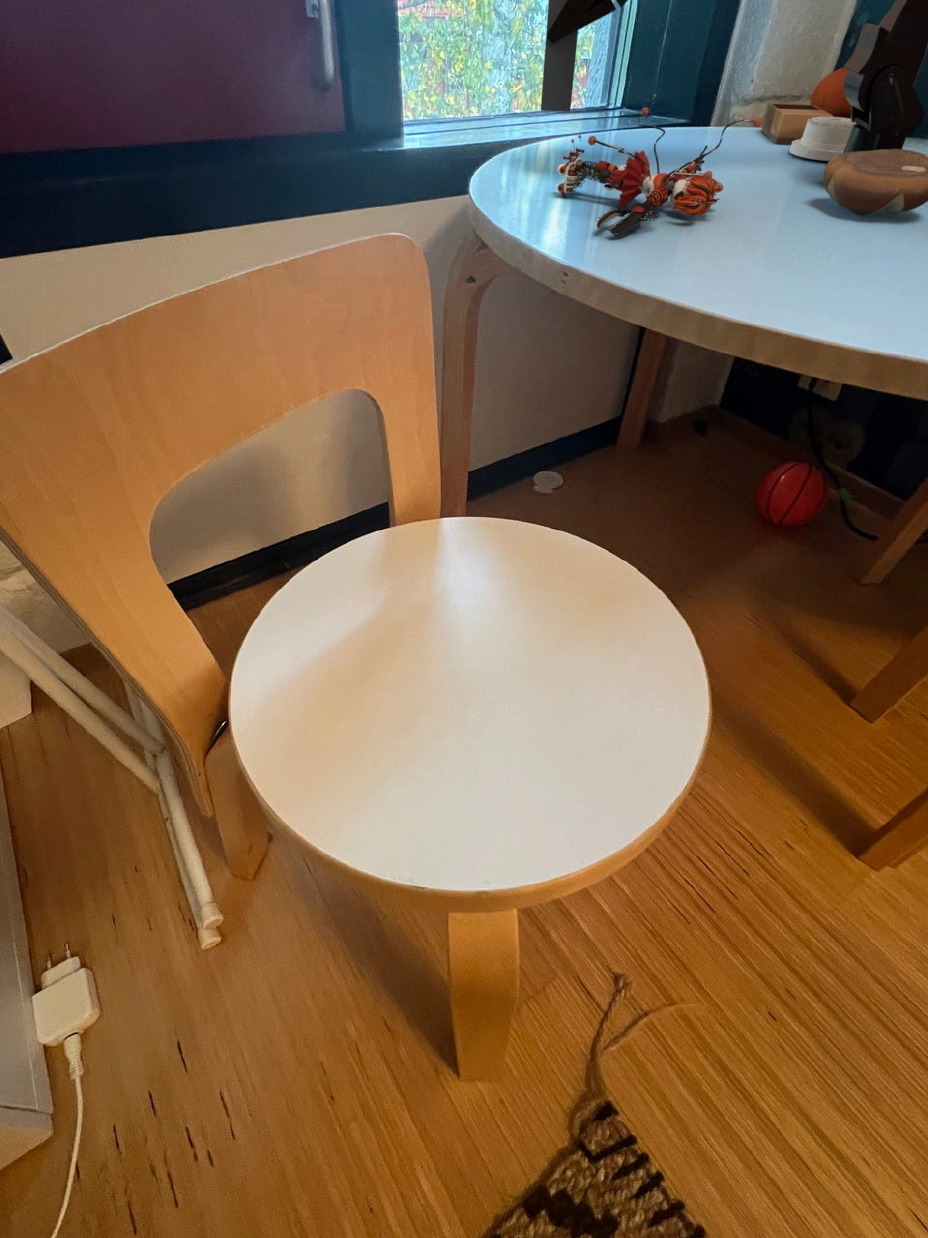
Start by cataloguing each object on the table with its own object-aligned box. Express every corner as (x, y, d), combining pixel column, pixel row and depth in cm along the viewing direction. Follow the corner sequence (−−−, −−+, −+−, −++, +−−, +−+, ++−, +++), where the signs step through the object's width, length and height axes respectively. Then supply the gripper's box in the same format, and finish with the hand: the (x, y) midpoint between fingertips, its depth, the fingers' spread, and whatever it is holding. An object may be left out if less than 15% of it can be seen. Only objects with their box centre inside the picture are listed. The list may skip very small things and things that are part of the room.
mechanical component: (822, 165, 95) (877, 161, 98) (834, 127, 92) (891, 123, 95) (774, 151, 102) (826, 148, 105) (784, 115, 99) (838, 112, 102)
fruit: (807, 117, 125) (823, 61, 120) (859, 122, 122) (878, 64, 117) (800, 124, 119) (817, 65, 114) (855, 129, 117) (875, 69, 111)
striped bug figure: (497, 231, 74) (666, 280, 68) (501, 137, 68) (690, 181, 61) (598, 161, 88) (748, 197, 81) (610, 76, 81) (775, 108, 74)
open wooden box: (823, 145, 106) (833, 115, 103) (775, 143, 107) (784, 113, 104) (805, 133, 114) (814, 104, 111) (761, 131, 114) (768, 103, 111)
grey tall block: (570, 105, 86) (584, -39, 77) (569, 111, 82) (584, -39, 73) (542, 104, 86) (553, -40, 77) (540, 110, 83) (551, -40, 74)
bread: (908, 141, 78) (889, 191, 82) (813, 151, 77) (799, 200, 81) (972, 170, 71) (949, 223, 75) (869, 181, 70) (850, 234, 74)
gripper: (618, -171, 74) (511, -32, 83) (624, -199, 61) (495, -31, 70) (676, -67, 79) (568, 54, 88) (692, -73, 66) (564, 71, 74)
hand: (550, 37), depth 80 cm, fingers closed on grey tall block, 5 cm apart
